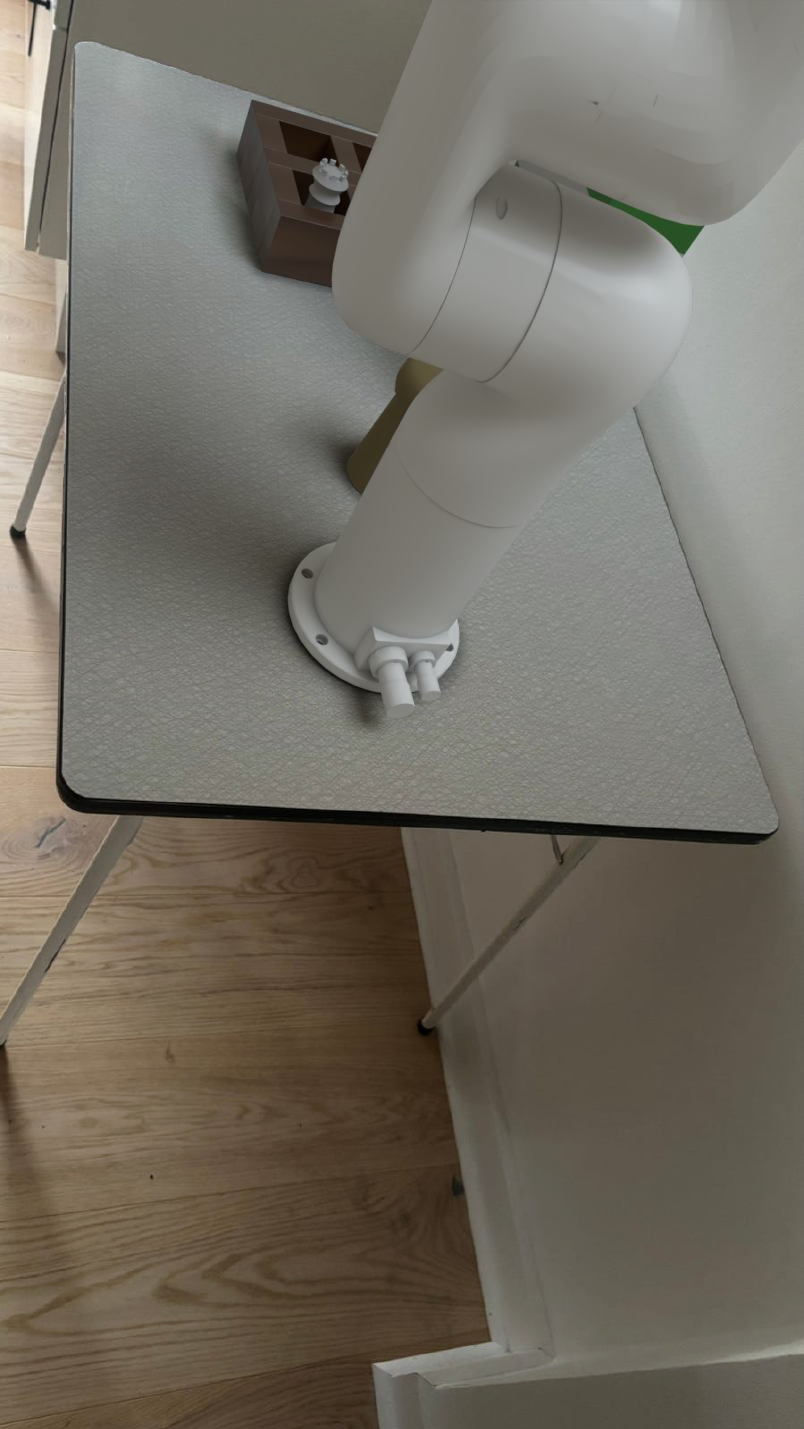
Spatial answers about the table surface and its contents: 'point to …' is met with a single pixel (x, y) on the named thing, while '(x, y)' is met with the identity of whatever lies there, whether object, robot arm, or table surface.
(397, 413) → the olive flared vase
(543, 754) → the table surface
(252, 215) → the divided compartment box
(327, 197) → the rook chess piece
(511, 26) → the robot arm
